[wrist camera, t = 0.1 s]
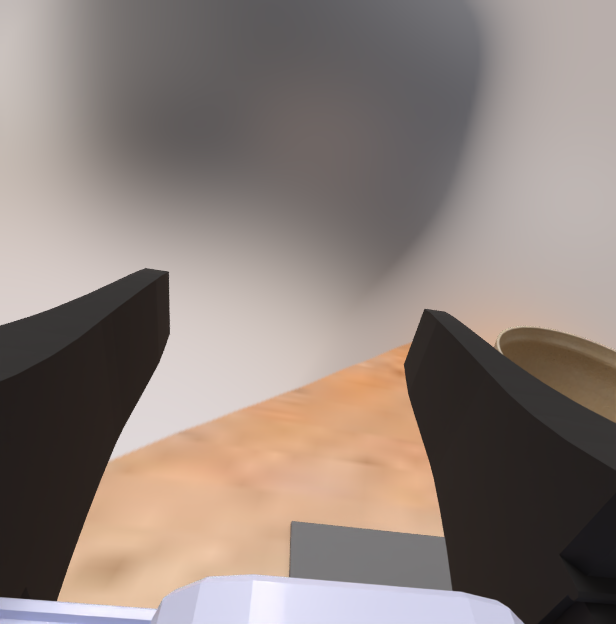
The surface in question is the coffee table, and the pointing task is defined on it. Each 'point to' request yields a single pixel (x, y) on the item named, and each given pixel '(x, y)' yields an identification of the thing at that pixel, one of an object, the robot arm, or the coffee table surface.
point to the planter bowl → (565, 364)
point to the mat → (368, 556)
